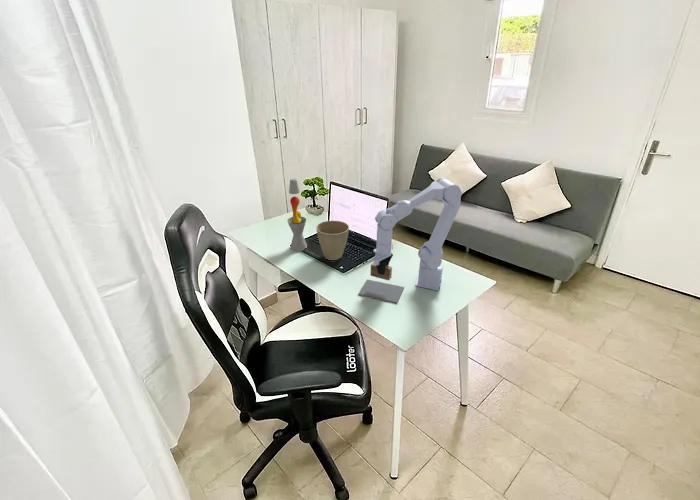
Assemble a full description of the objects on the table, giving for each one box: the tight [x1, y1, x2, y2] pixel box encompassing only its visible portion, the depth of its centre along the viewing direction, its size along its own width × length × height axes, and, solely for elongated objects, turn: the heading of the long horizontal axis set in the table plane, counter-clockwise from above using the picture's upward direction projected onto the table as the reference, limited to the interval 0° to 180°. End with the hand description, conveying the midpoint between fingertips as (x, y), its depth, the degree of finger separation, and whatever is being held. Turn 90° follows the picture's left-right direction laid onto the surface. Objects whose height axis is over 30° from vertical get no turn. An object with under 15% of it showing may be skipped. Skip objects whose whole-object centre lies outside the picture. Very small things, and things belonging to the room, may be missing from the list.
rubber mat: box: [358, 279, 405, 304], centre depth 144 cm, size 16×11×1 cm
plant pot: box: [315, 220, 350, 261], centre depth 164 cm, size 15×15×16 cm
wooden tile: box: [370, 262, 393, 282], centre depth 141 cm, size 2×8×5 cm, turn 62°
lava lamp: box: [287, 178, 308, 253], centre depth 169 cm, size 9×9×35 cm
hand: (382, 272), depth 141 cm, fingers closed on wooden tile, 2 cm apart
